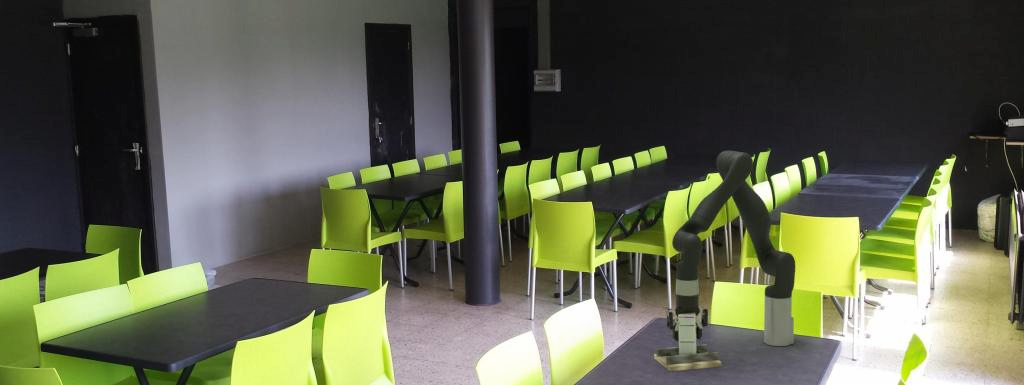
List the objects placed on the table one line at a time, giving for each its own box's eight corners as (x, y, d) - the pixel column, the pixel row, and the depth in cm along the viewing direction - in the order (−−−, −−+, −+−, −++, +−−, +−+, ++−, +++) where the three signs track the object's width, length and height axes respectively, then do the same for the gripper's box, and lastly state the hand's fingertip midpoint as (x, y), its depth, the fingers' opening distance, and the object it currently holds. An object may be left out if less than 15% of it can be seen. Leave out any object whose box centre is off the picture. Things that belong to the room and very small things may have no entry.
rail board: (703, 353, 308) (703, 342, 308) (721, 366, 294) (721, 354, 294) (654, 358, 304) (654, 346, 304) (669, 371, 291) (669, 359, 290)
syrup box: (696, 357, 296) (696, 314, 294) (678, 356, 297) (678, 314, 295) (696, 351, 301) (696, 309, 299) (678, 351, 302) (678, 309, 300)
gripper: (702, 287, 301) (702, 334, 304) (662, 291, 298) (662, 338, 301) (712, 292, 294) (712, 341, 296) (671, 296, 291) (671, 345, 293)
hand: (687, 339), depth 298 cm, fingers closed on syrup box, 7 cm apart
